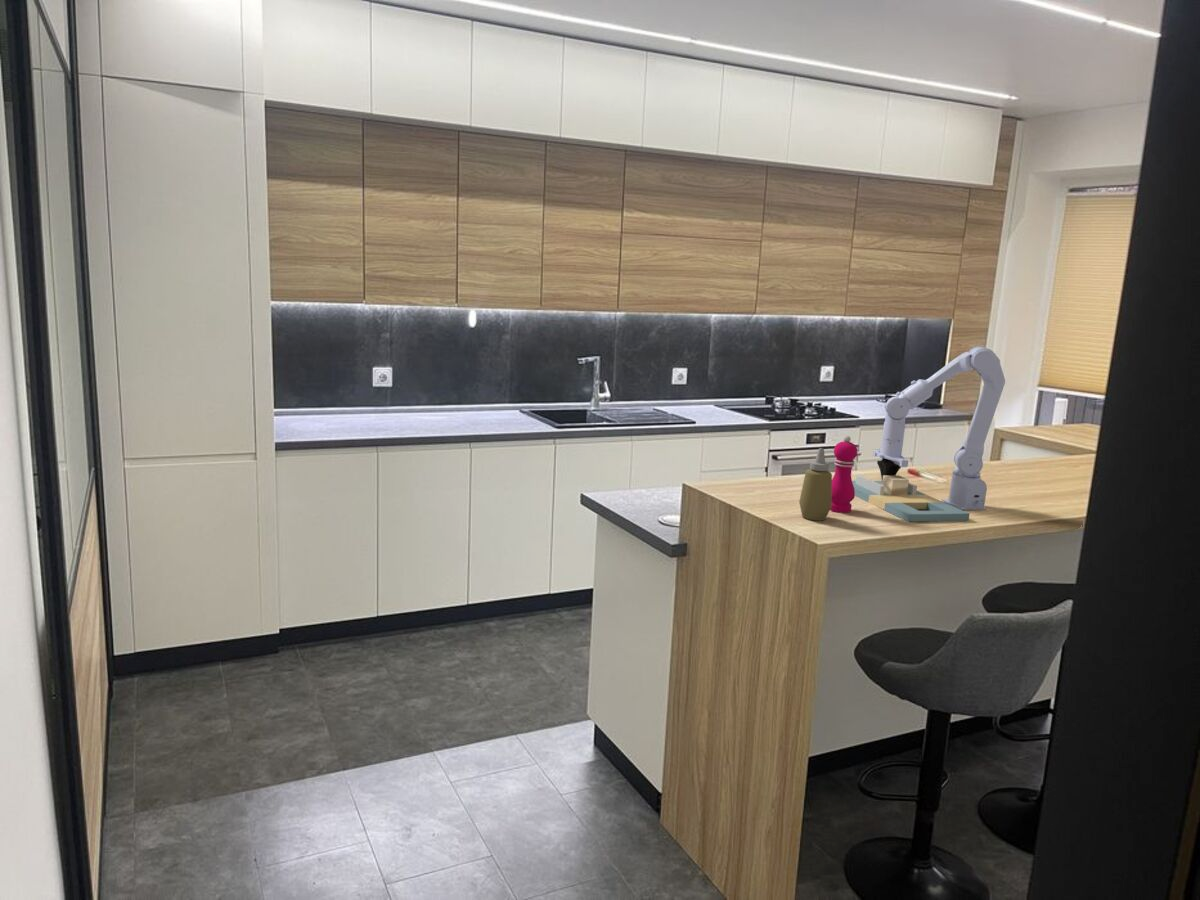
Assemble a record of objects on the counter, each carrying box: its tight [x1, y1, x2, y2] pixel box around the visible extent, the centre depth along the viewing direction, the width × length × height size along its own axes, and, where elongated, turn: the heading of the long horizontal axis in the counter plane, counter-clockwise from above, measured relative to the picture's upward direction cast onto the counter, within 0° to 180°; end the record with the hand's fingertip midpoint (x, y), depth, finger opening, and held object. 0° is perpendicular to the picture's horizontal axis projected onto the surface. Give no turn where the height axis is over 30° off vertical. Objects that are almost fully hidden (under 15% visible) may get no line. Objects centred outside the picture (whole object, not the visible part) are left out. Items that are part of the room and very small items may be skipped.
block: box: [881, 474, 910, 496], centre depth 244 cm, size 5×5×4 cm
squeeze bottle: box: [798, 447, 833, 521], centre depth 219 cm, size 8×8×18 cm
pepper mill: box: [830, 435, 858, 514], centre depth 229 cm, size 7×7×20 cm
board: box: [852, 474, 970, 522], centre depth 241 cm, size 35×18×4 cm, turn 14°
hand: (886, 486), depth 248 cm, fingers closed
